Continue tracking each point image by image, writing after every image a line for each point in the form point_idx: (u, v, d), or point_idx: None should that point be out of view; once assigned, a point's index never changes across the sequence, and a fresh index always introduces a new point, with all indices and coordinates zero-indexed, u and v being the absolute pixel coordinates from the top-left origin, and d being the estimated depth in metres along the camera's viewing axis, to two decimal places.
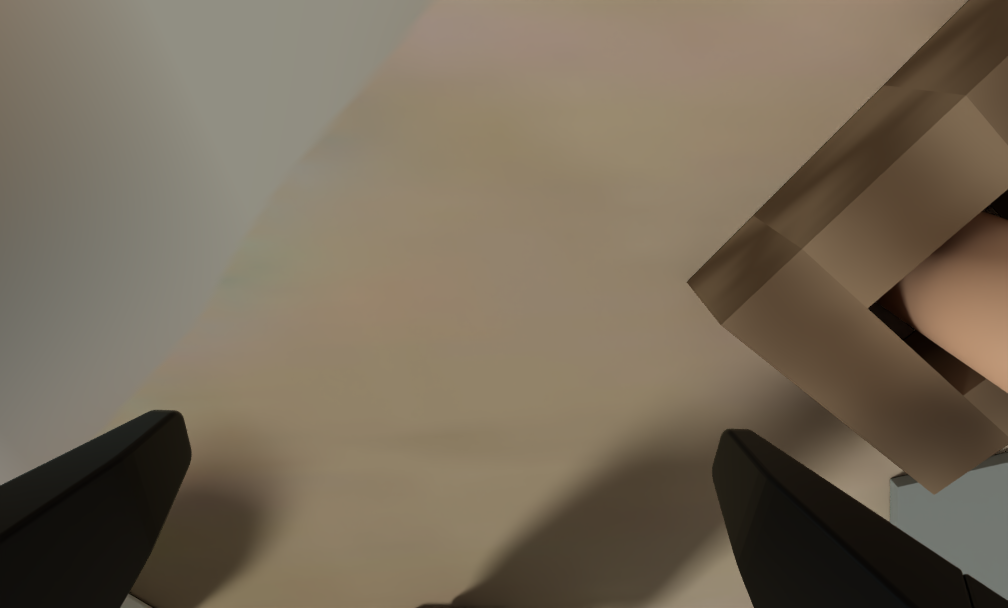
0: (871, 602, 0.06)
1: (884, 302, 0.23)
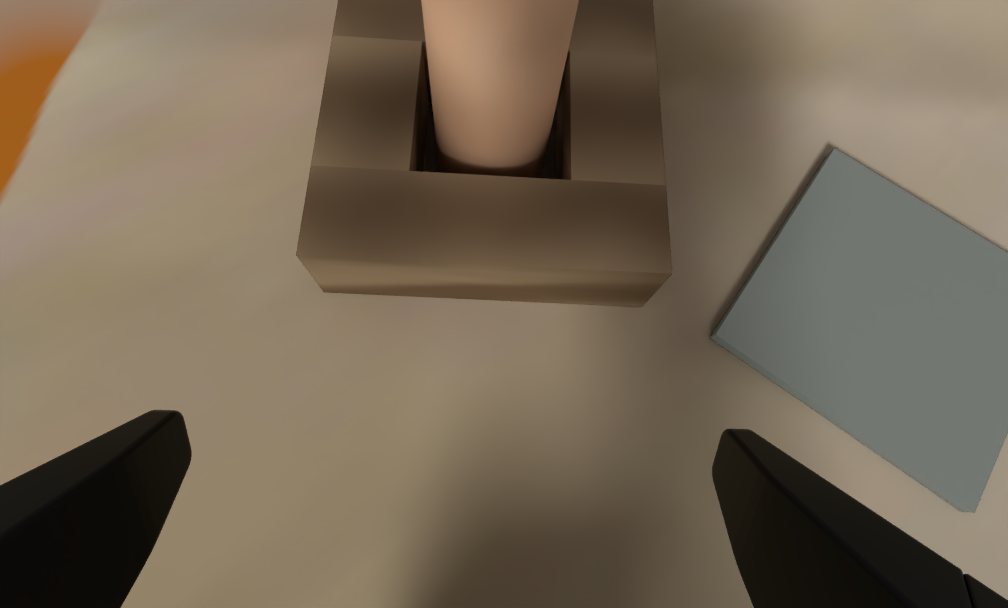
0: (870, 602, 0.06)
1: None
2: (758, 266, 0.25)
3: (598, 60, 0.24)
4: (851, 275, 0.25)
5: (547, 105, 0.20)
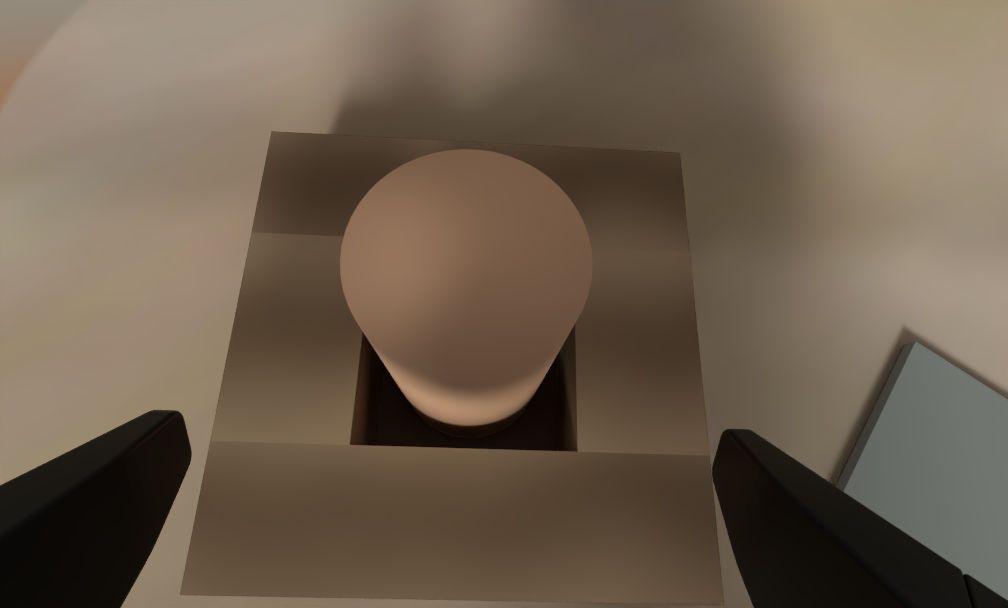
0: (870, 602, 0.06)
1: (446, 429, 0.18)
2: None
3: (612, 260, 0.18)
4: (952, 533, 0.19)
5: (543, 376, 0.14)
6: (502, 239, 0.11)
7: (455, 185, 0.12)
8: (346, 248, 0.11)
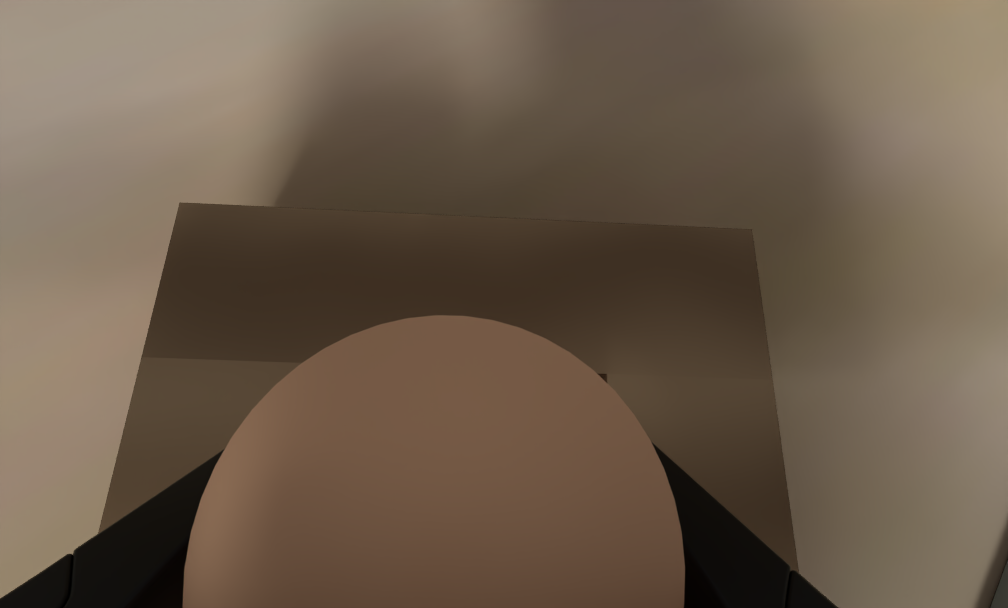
0: (696, 598, 0.06)
1: None
2: None
3: (662, 394, 0.12)
4: None
5: None
6: (508, 509, 0.06)
7: (419, 392, 0.06)
8: (198, 538, 0.06)
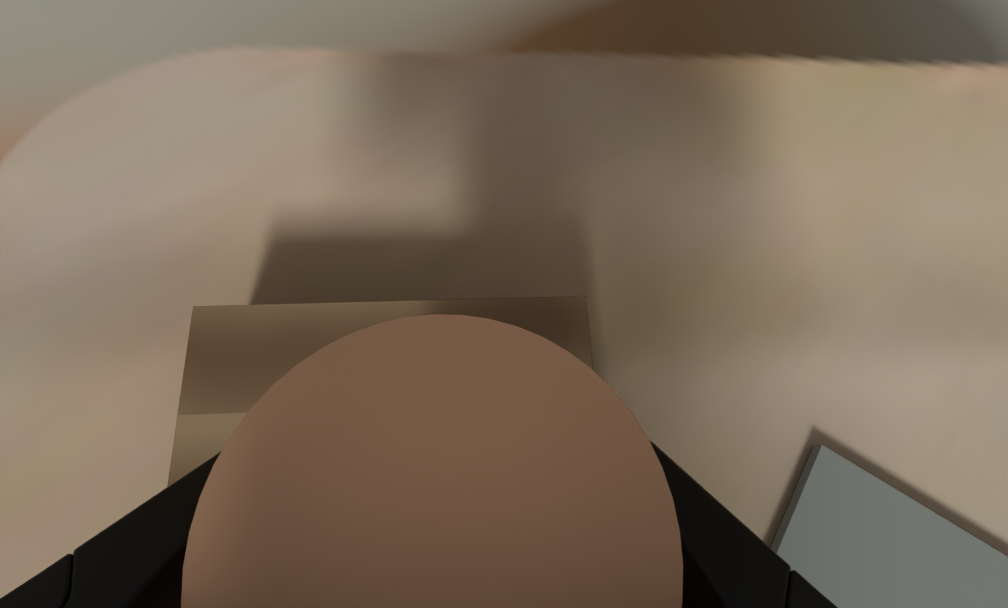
0: (696, 599, 0.06)
1: None
2: None
3: None
4: None
5: None
6: (507, 508, 0.06)
7: (418, 391, 0.06)
8: (197, 538, 0.06)
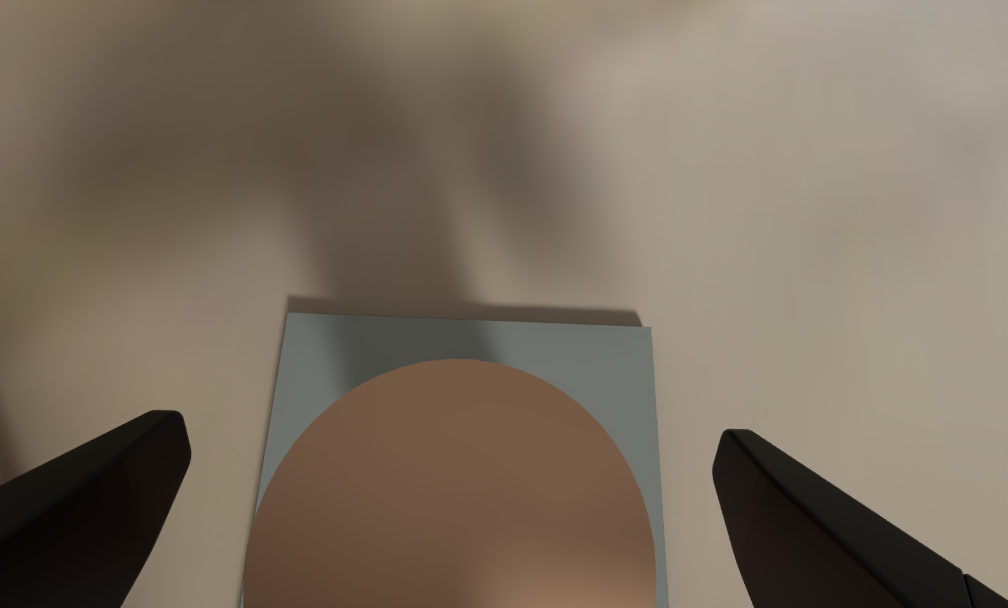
0: (871, 602, 0.06)
1: None
2: None
3: None
4: None
5: None
6: (511, 525, 0.07)
7: (435, 425, 0.07)
8: (254, 550, 0.07)
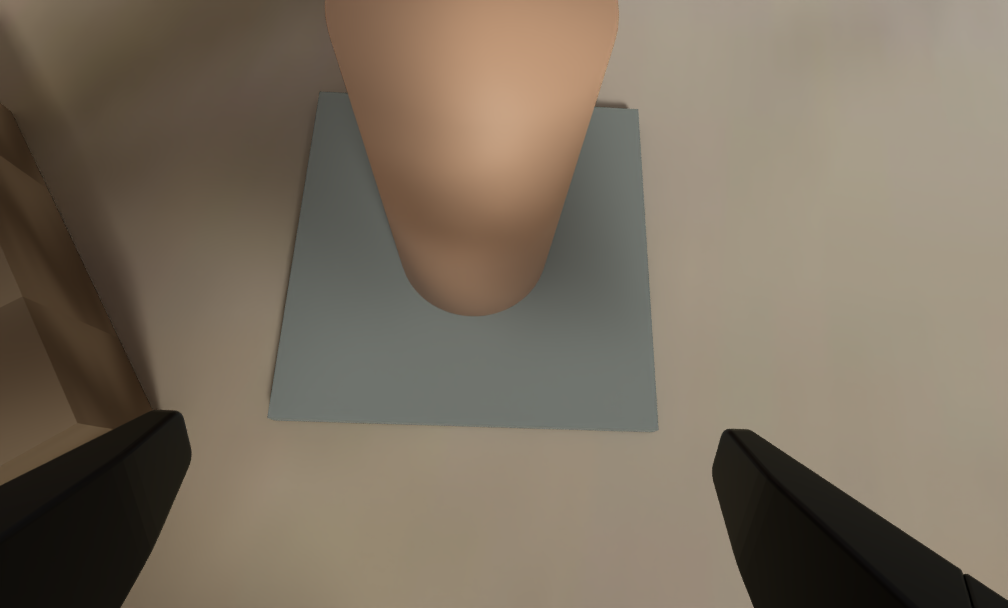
0: (870, 602, 0.06)
1: (447, 296, 0.17)
2: (288, 292, 0.18)
3: None
4: None
5: (556, 197, 0.12)
6: None
7: None
8: None
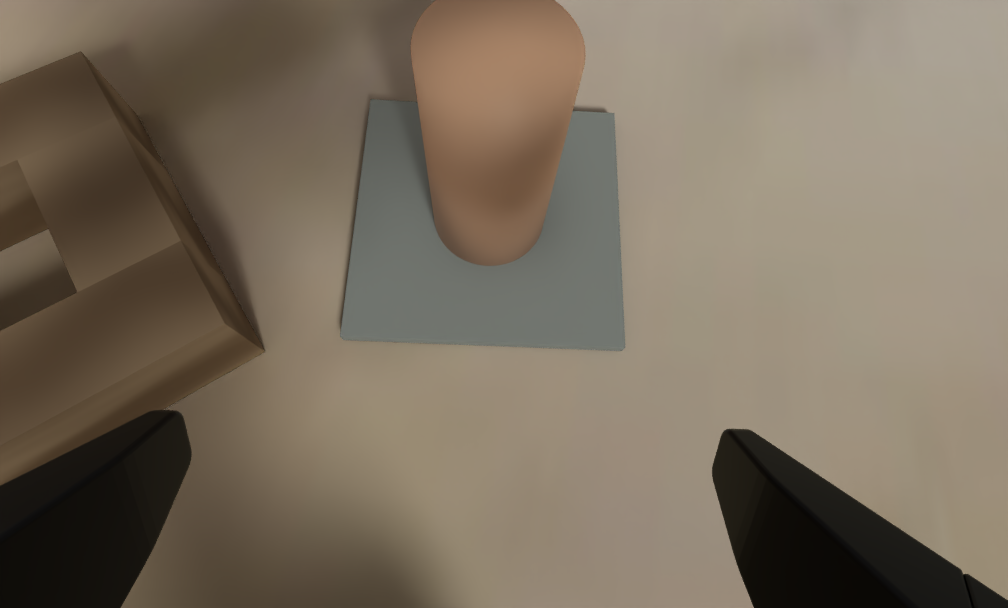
0: (870, 602, 0.06)
1: (471, 247, 0.23)
2: (352, 248, 0.24)
3: (53, 153, 0.21)
4: None
5: (549, 170, 0.19)
6: (522, 38, 0.16)
7: (489, 4, 0.16)
8: (414, 41, 0.16)
